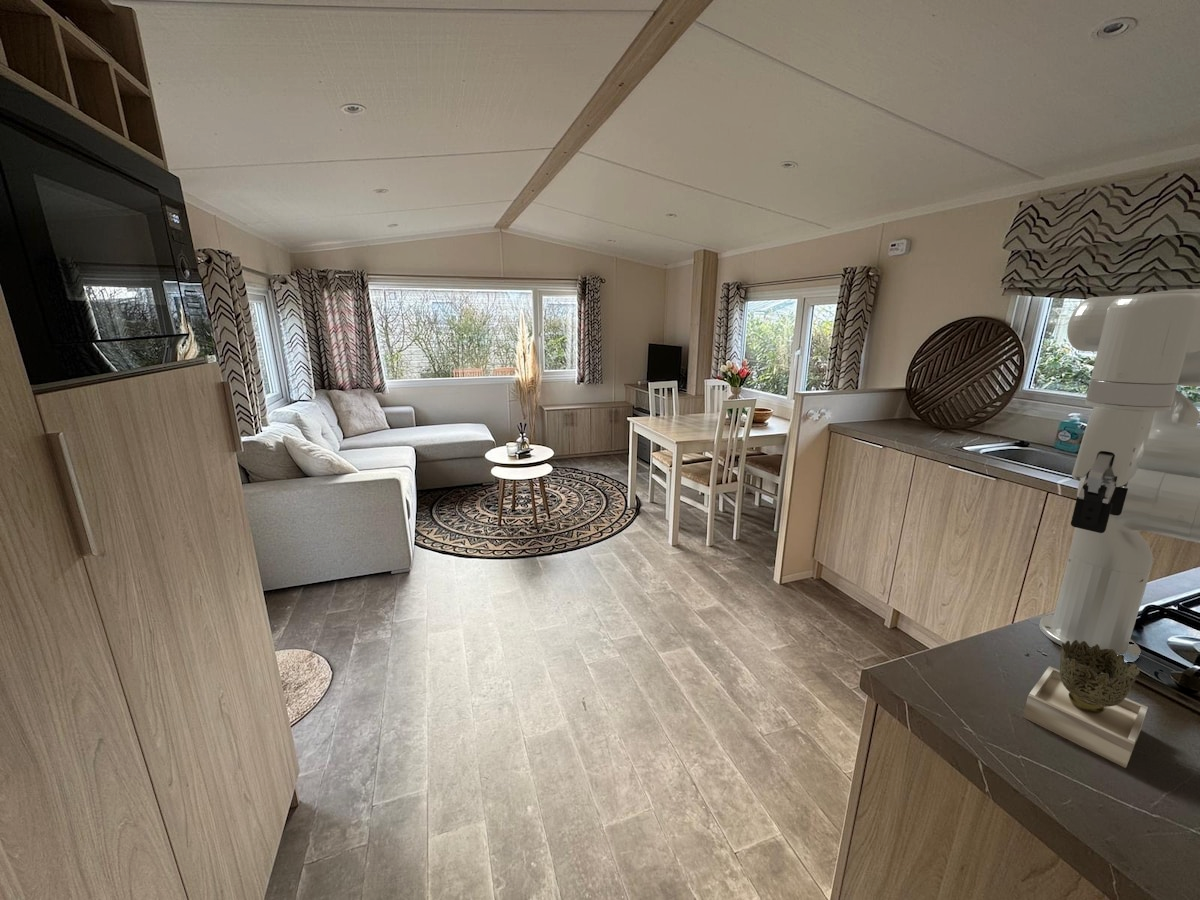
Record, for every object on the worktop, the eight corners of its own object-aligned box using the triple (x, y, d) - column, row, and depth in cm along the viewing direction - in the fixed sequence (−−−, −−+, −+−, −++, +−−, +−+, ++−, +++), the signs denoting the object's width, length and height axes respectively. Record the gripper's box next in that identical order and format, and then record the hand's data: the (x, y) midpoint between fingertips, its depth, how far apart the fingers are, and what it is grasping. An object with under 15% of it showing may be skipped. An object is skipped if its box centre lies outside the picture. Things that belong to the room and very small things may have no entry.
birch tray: (1044, 686, 74) (1049, 665, 73) (1140, 729, 66) (1148, 707, 65) (1022, 717, 69) (1028, 695, 68) (1125, 768, 61) (1133, 744, 60)
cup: (1140, 731, 63) (1157, 679, 61) (1074, 722, 64) (1088, 671, 62) (1095, 690, 70) (1109, 642, 68) (1037, 683, 72) (1049, 636, 70)
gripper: (1102, 387, 69) (1075, 499, 73) (1070, 398, 60) (1041, 527, 64) (1183, 392, 63) (1147, 514, 68) (1161, 406, 54) (1122, 547, 58)
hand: (1096, 520), depth 66 cm, fingers open, 9 cm apart
